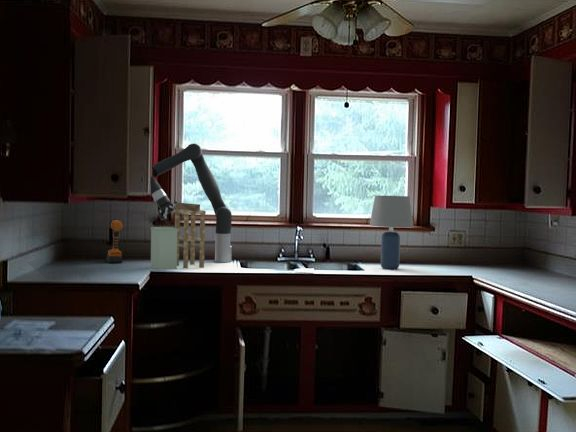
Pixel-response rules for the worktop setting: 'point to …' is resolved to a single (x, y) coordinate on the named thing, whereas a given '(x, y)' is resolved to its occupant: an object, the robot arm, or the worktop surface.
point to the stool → (190, 238)
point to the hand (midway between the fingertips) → (175, 221)
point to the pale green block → (164, 247)
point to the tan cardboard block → (188, 206)
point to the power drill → (115, 243)
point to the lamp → (391, 225)
